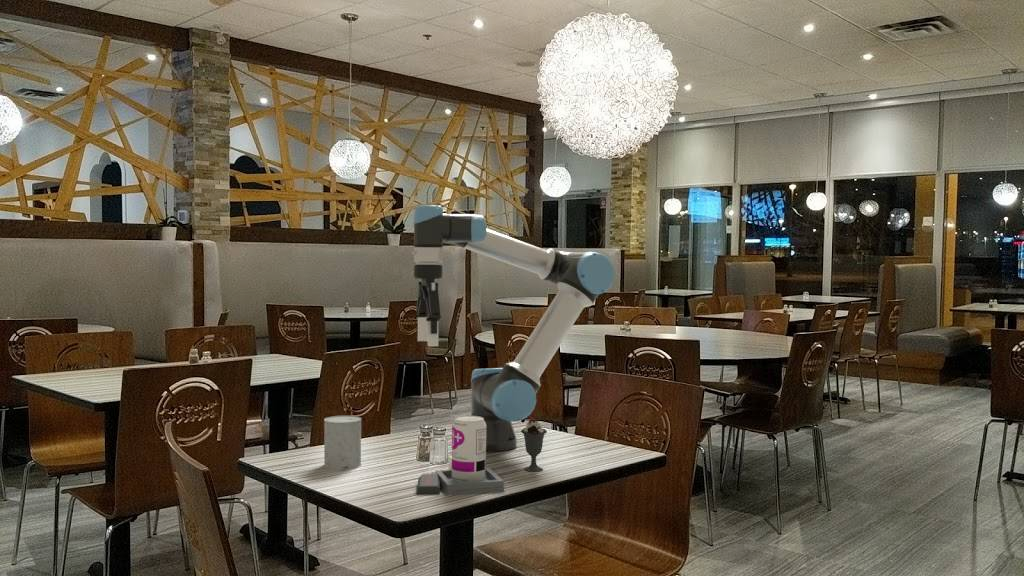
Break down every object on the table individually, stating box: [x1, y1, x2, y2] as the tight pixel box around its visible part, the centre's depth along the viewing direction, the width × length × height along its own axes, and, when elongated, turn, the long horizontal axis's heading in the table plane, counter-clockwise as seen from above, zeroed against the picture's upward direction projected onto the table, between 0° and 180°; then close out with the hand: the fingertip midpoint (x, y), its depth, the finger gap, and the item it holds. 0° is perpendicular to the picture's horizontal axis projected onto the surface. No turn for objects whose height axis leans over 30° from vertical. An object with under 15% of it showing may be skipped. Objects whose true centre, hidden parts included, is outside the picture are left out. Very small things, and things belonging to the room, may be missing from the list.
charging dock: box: [430, 455, 505, 496], centre depth 197 cm, size 14×18×5 cm
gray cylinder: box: [323, 415, 362, 471], centre depth 213 cm, size 10×10×12 cm
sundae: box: [520, 410, 548, 473], centre depth 211 cm, size 7×7×15 cm
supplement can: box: [451, 415, 487, 483], centre depth 195 cm, size 8×8×15 cm
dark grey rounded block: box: [416, 473, 441, 495], centre depth 193 cm, size 5×12×3 cm, turn 5°
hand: (427, 343), depth 217 cm, fingers open, 13 cm apart
